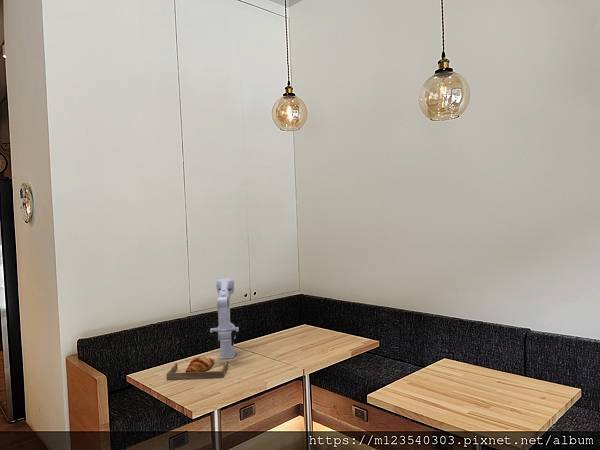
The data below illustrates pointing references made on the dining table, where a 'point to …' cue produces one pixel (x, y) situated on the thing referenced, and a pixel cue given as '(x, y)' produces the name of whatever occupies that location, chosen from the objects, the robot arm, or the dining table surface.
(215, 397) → the dining table surface
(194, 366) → the croissant
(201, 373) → the frame
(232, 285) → the robot arm
